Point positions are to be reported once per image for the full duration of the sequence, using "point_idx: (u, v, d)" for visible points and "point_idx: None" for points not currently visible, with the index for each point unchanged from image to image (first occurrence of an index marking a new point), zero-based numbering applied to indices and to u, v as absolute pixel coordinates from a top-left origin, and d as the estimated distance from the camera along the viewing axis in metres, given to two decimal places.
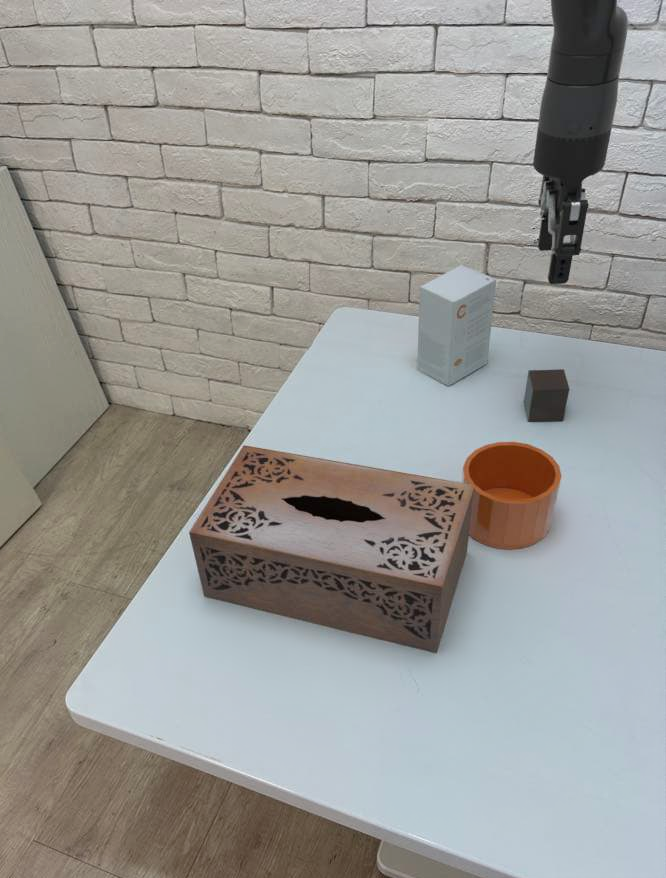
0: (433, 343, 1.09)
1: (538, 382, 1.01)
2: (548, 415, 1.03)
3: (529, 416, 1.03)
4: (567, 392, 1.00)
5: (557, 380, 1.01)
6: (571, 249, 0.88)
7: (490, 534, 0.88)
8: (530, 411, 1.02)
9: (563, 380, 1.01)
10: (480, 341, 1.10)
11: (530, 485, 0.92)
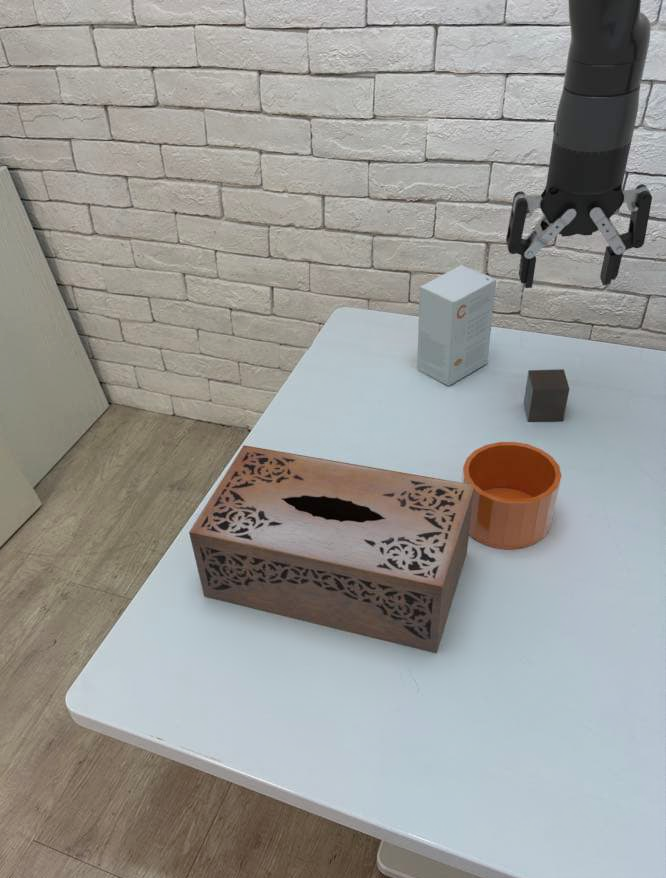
0: (433, 343, 1.09)
1: (538, 382, 1.01)
2: (548, 415, 1.03)
3: (529, 416, 1.03)
4: (567, 392, 1.00)
5: (557, 380, 1.01)
6: (508, 242, 0.89)
7: (490, 534, 0.88)
8: (530, 411, 1.02)
9: (563, 380, 1.01)
10: (480, 341, 1.10)
11: (530, 485, 0.92)
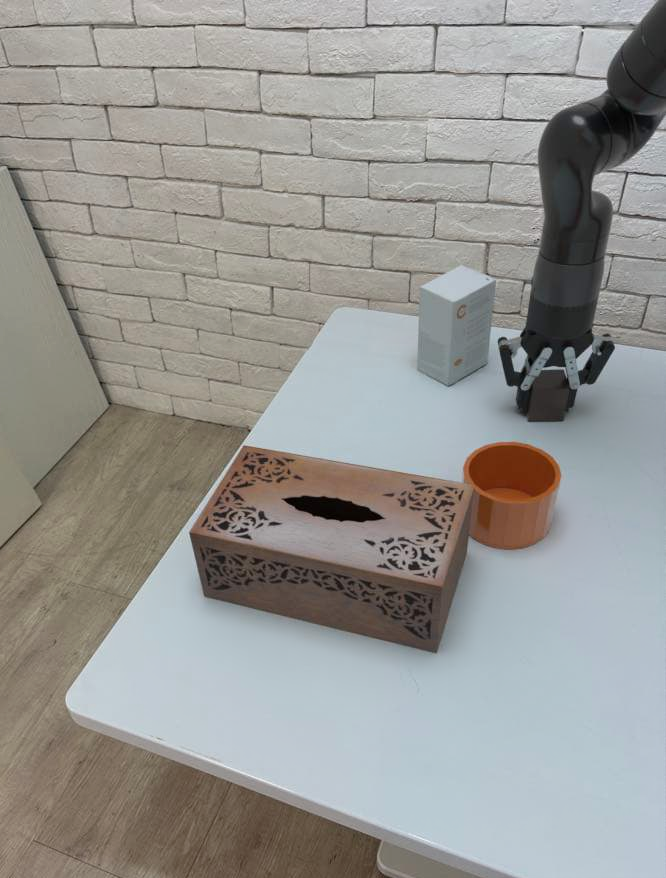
0: (433, 343, 1.09)
1: (538, 382, 1.01)
2: (548, 415, 1.03)
3: (529, 416, 1.03)
4: (567, 392, 1.00)
5: (557, 380, 1.01)
6: None
7: (490, 534, 0.88)
8: (530, 411, 1.02)
9: (563, 380, 1.01)
10: (480, 341, 1.10)
11: (530, 485, 0.92)
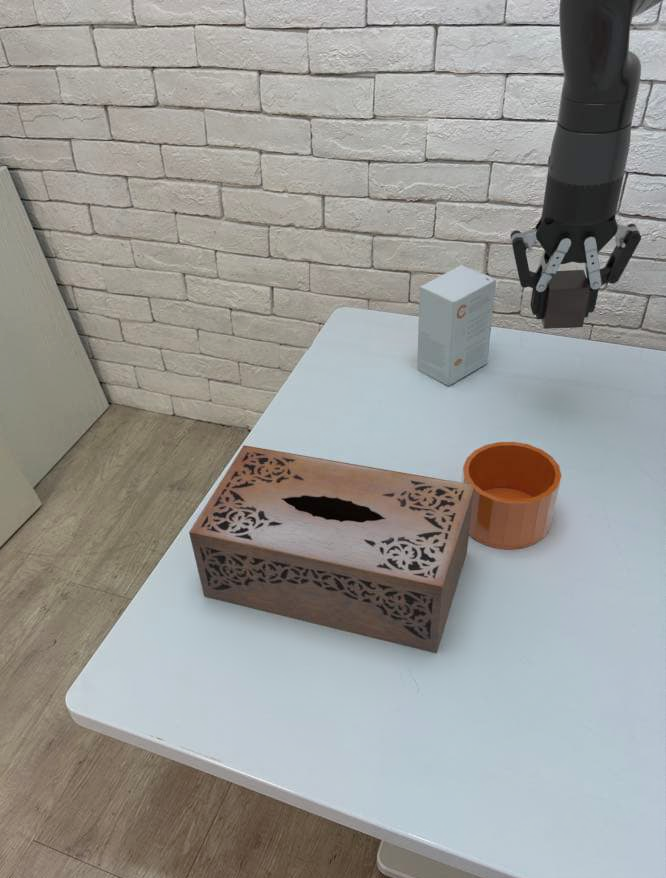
0: (433, 343, 1.09)
1: (555, 283, 0.92)
2: (567, 320, 0.93)
3: (545, 322, 0.94)
4: (587, 292, 0.90)
5: (577, 280, 0.92)
6: None
7: (490, 534, 0.88)
8: (546, 316, 0.93)
9: (583, 280, 0.91)
10: (480, 341, 1.10)
11: (530, 485, 0.92)
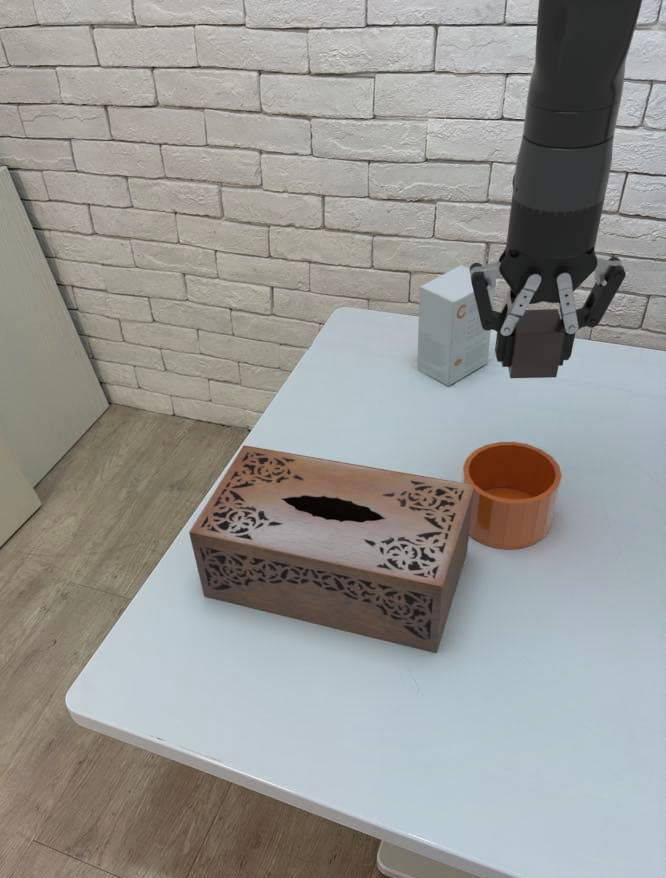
0: (433, 343, 1.09)
1: (523, 325, 0.77)
2: (537, 369, 0.78)
3: (512, 371, 0.78)
4: (562, 337, 0.75)
5: (549, 322, 0.76)
6: None
7: (490, 534, 0.88)
8: (513, 364, 0.78)
9: (557, 322, 0.76)
10: (480, 341, 1.10)
11: (530, 485, 0.92)
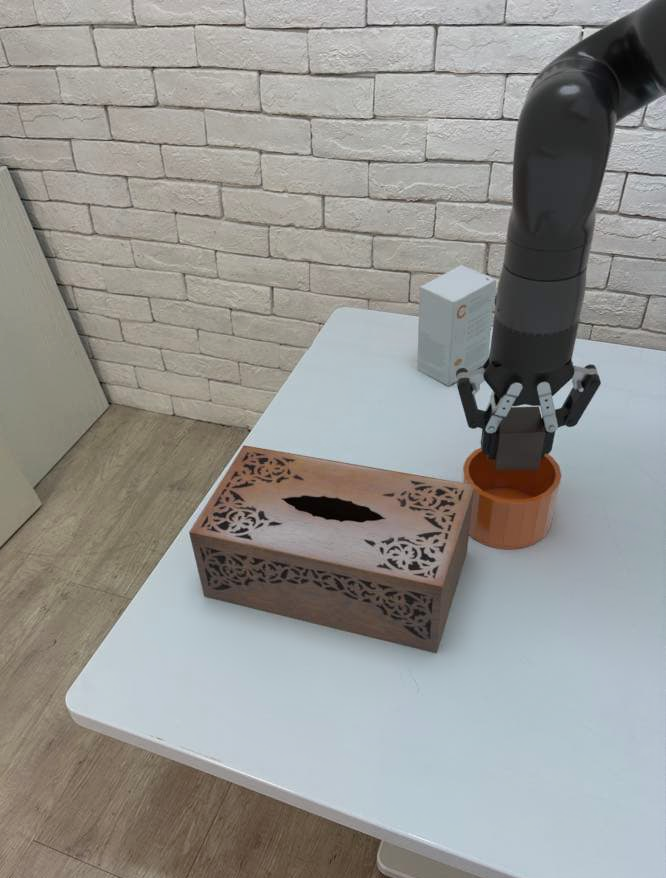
0: (433, 343, 1.09)
1: (506, 423, 0.82)
2: (520, 463, 0.83)
3: (496, 464, 0.84)
4: (542, 436, 0.81)
5: (531, 420, 0.82)
6: None
7: (490, 534, 0.88)
8: (497, 458, 0.83)
9: (538, 421, 0.81)
10: (480, 341, 1.10)
11: (530, 485, 0.92)
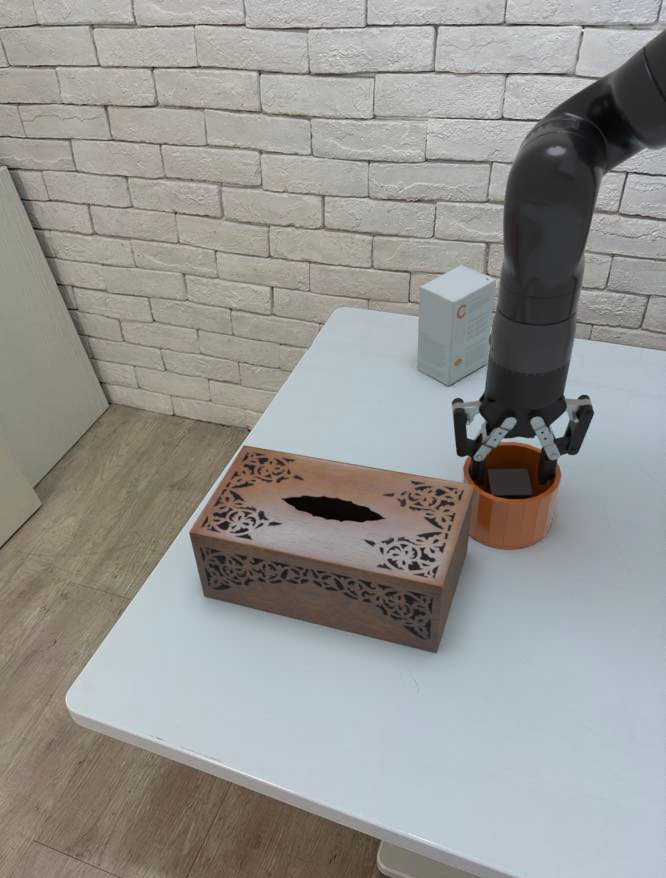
0: (433, 343, 1.09)
1: (497, 485, 0.88)
2: None
3: None
4: None
5: (519, 482, 0.88)
6: None
7: (490, 534, 0.88)
8: None
9: (526, 483, 0.88)
10: (480, 341, 1.10)
11: None
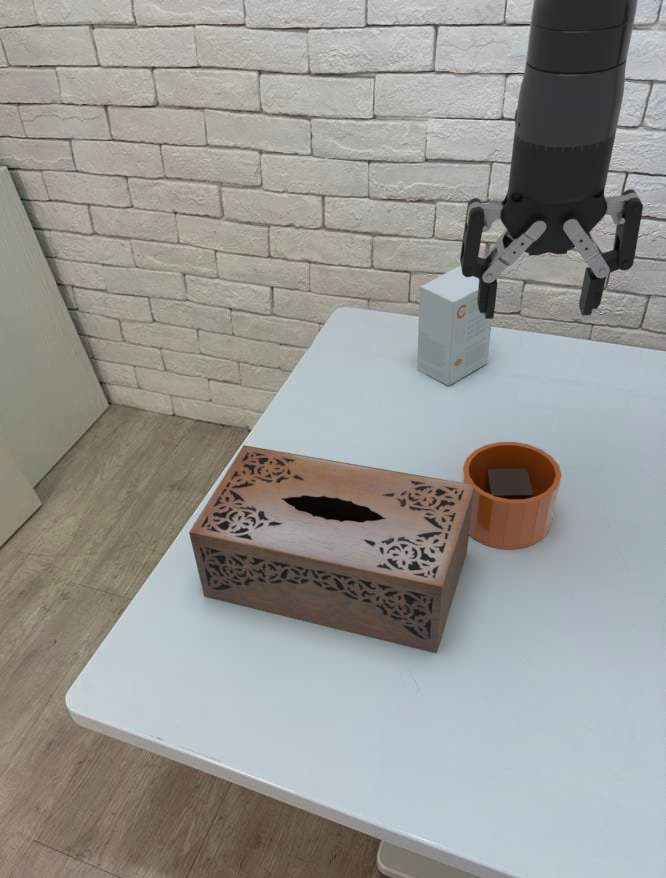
0: (433, 343, 1.09)
1: (497, 485, 0.88)
2: None
3: None
4: None
5: (519, 482, 0.88)
6: (462, 263, 0.71)
7: (490, 534, 0.88)
8: None
9: (526, 483, 0.88)
10: (480, 341, 1.10)
11: None
